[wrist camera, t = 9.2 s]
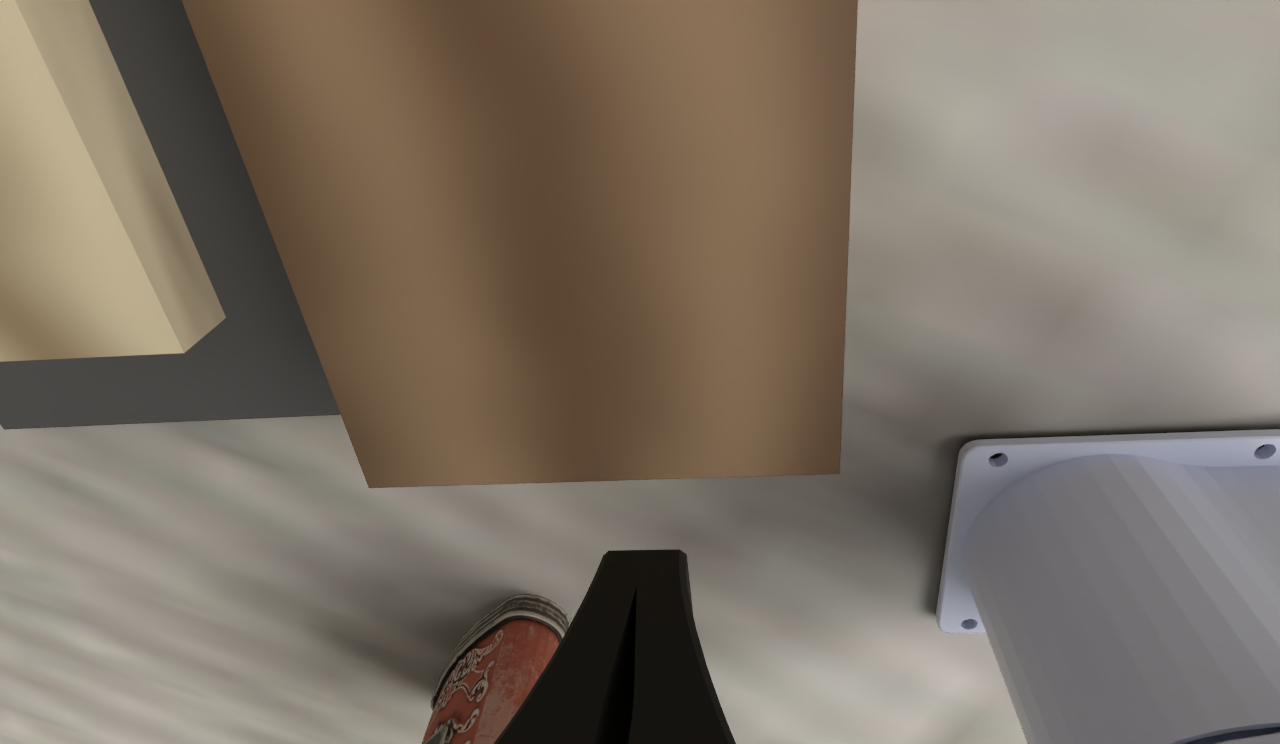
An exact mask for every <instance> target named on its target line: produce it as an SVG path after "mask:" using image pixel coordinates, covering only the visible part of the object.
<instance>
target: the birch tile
mask: <svg viewBox="0 0 1280 744" xmlns="http://www.w3.org/2000/svg"><path fill="white" fill-rule="evenodd" d="M225 318H226V316H225V314H224V311H223V309H222V307H221V305H220V302H219V300H218V298H217V295H216V293H215V291H214V288H213V286H212V284H211V281H210V279H209V277H208V275H207V272H206V270H205V268H204V265H203V263H202V261H201V258H200V256H199V254H198V251H197V249H196V247H195V245H194V242H193V240H192V238H191V235H190V233H189V231H188V228H187V226H186V224H185V221H184V219H183V217H182V215H181V212H180V210H179V208H178V205H177V203H176V201H175V198H174V196H173V194H172V191H171V189H170V187H169V185H168V182H167V180H166V178H165V175H164V173H163V171H162V168H161V166H160V164H159V162H158V159H157V157H156V155H155V152H154V150H153V148H152V145H151V143H150V141H149V138H148V136H147V134H146V132H145V129H144V127H143V125H142V122H141V120H140V118H139V115H138V113H137V111H136V108H135V106H134V104H133V102H132V99H131V97H130V95H129V92H128V90H127V88H126V85H125V83H124V81H123V78H122V76H121V74H120V72H119V69H118V67H117V65H116V62H115V60H114V58H113V55H112V53H111V51H110V48H109V46H108V44H107V42H106V39H105V37H104V35H103V32H102V30H101V28H100V25H99V23H98V21H97V19H96V16H95V14H94V12H93V9H92V7H91V5H90V2H89V0H0V362H3V361H25V360H47V359H68V358H90V357H112V356H133V355H155V354H176V353H185V352H186V351H187V350H188V349H190V348H191V347H192V346H193V345H194V344H196V343H197V342H198V341H199V340H200V339H202V338H203V337H204V336H205V335H206V334H207V333H209V332H210V331H211V330H212V329H213V328H215V327H216V326H217V325H218V324H219V323H220V322H222V321H223V320H224V319H225Z"/></svg>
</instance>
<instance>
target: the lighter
mask: <svg viewBox="0 0 1280 744" xmlns="http://www.w3.org/2000/svg"><path fill="white" fill-rule="evenodd" d="M568 627H569V620H568V617H567V614H566V613H565V612H564V611H563V610H562V609H561V608H560V607H559V606H558V605H556V604H555V603H553V602H552V601H550V600H547V599H544V598H542V597H539V596H533V595H517V596H514V597H511V598H509V599H507V600H506V601H504V602H503V603H502V604H500V605H499V606H498V607H496V608H495V609H494V610H492V611H491V612H489V613H488V614H487V615H485V616H484V617H483V618H482V619H481V620H480V621H479V622H478V623H477V624H476V625H475V626H474V627H473V628H472V629H471V630H470V631H469V632H468V633H467V634H466V635H465V636H464V637H463V638H462V639H461V640H460V642H459V643H458V645H457V646H456V648H455V649H454V651H453V652H452V654H451V655H450V657H449V658H448V660H447V662H446V664H445V666H444V669H443V671H442V674H441V676H440V678H439V681H438V683H437V686H436V689H435V692H434V695H433V697H432V700H431V708H432V710H433V713H432V716H431V718H430V721H429V724H428V727H427V730H426V733H425V736H424V739H423V741H422V744H494V742H495V741H496V740H497V738H498V737H499V736H500V734H501V733H502V732H503V730H504V729H505V728H506V726H507V725H508V723H509V722H510V721H511V719H512V718H513V716H514V715H515V713H516V712H517V711H518V709H519V708H520V706H521V705H522V703H523V702H524V700H525V699H526V697H527V696H528V694H529V693H530V691H531V689H532V688H533V686H534V685H535V683H536V682H537V680H538V678H539V677H540V675H541V674H542V672H543V671H544V669H545V667H546V666H547V664H548V663H549V661H550V659H551V658H552V656H553V654H554V653H555V651H556V649H557V647H558V646H559V644H560V642H561V640H562V639H563V637H564V635H565V633H566V631H567V630H568Z"/></svg>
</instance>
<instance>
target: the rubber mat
mask: <svg viewBox="0 0 1280 744" xmlns="http://www.w3.org/2000/svg"><path fill="white" fill-rule="evenodd" d="M89 2H90V5H91V7H92V9H93V12H94V14H95V16H96V19H97V21H98V23H99V25H100V28H101V30H102V32H103V35H104V37H105V39H106V42H107V44H108V46H109V48H110V51H111V53H112V55H113V58H114V60H115V62H116V65H117V67H118V69H119V72H120V74H121V76H122V78H123V81H124V83H125V85H126V88H127V90H128V92H129V95H130V97H131V99H132V102H133V104H134V106H135V108H136V111H137V113H138V115H139V118H140V120H141V122H142V125H143V127H144V129H145V132H146V134H147V136H148V138H149V141H150V143H151V145H152V148H153V150H154V152H155V155H156V157H157V159H158V162H159V164H160V166H161V168H162V171H163V173H164V175H165V178H166V180H167V182H168V185H169V187H170V189H171V191H172V194H173V196H174V198H175V201H176V203H177V205H178V208H179V210H180V212H181V215H182V217H183V219H184V221H185V224H186V226H187V228H188V231H189V233H190V235H191V238H192V240H193V242H194V245H195V247H196V249H197V251H198V254H199V256H200V258H201V261H202V263H203V265H204V268H205V270H206V272H207V275H208V277H209V279H210V281H211V284H212V286H213V288H214V291H215V293H216V295H217V298H218V300H219V302H220V305H221V307H222V309H223V311H224V314H225V316H226V318H225V319H224V320H223V321H222V322H220V323H219V324H218V325H217V326H216V327H215V328H213V329H212V330H211V331H210V332H209V333H207V334H206V335H205V336H204V337H203V338H202V339H200V340H199V341H198V342H197V343H196V344H194V345H193V346H192V347H191V348H190V349H188V350H187V351H186V352H185V353H176V354H155V355H133V356H112V357H90V358H68V359H47V360H25V361H3V362H0V424H1V426H2V427H3V429H23V428H46V427H69V426H92V425H115V424H138V423H161V422H184V421H207V420H230V419H253V418H276V417H299V416H322V415H341V414H340V411H339V408H338V406H337V403H336V401H335V398H334V395H333V393H332V390H331V388H330V385H329V382H328V380H327V377H326V375H325V372H324V369H323V367H322V364H321V362H320V359H319V356H318V354H317V351H316V349H315V346H314V343H313V341H312V338H311V336H310V333H309V330H308V328H307V325H306V323H305V320H304V317H303V315H302V312H301V310H300V307H299V304H298V302H297V299H296V297H295V294H294V291H293V289H292V286H291V284H290V281H289V278H288V276H287V273H286V271H285V268H284V265H283V263H282V260H281V258H280V255H279V252H278V250H277V247H276V245H275V242H274V239H273V237H272V234H271V232H270V229H269V226H268V224H267V221H266V219H265V216H264V213H263V211H262V208H261V206H260V203H259V200H258V198H257V195H256V192H255V190H254V187H253V185H252V182H251V179H250V177H249V174H248V172H247V169H246V166H245V164H244V161H243V159H242V156H241V153H240V151H239V148H238V146H237V143H236V140H235V138H234V135H233V133H232V130H231V127H230V125H229V122H228V120H227V117H226V114H225V112H224V109H223V107H222V104H221V101H220V99H219V96H218V94H217V91H216V88H215V86H214V83H213V81H212V78H211V75H210V73H209V70H208V68H207V65H206V62H205V60H204V57H203V55H202V52H201V49H200V47H199V44H198V42H197V39H196V36H195V34H194V31H193V29H192V26H191V23H190V21H189V18H188V16H187V13H186V10H185V8H184V5H183V3H182V0H89Z"/></svg>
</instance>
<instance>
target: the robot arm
mask: <svg viewBox="0 0 1280 744" xmlns="http://www.w3.org/2000/svg"><path fill="white" fill-rule="evenodd" d="M1262 445H1265V446H1264V447H1262V448H1261V449H1259V450H1256V449H1257V448H1259V447H1260V446H1262ZM997 453H1002V455H1001V456H1000V457H998V458H995V459H990V457H991V456H992V455H994V454H997ZM966 619H968V620H966ZM936 620H937V624H938V627H939V628H940V629H941V630H942V631H944V632H947V633H987V636H988V639H989V641H990V644H991V647H992V649H993V652H994V655H995V657H996V660H997V663H998V665H999V668H1000V671H1001V673H1002V676H1003V679H1004V681H1005V684H1006V687H1007V689H1008V692H1009V695H1010V697H1011V700H1012V703H1013V705H1014V708H1015V711H1016V713H1017V716H1018V719H1019V721H1020V724H1021V727H1022V729H1023V732H1024V735H1025V738H1026V740H1027V743H1028V744H1280V429H1268V430H1240V431H1211V432H1182V433H1154V434H1125V435H1097V436H1068V437H1039V438H1011V439H982V440H974V441H970V442H968V443H966V444H965V445H964V446H963V447H962V448H961V449H960V452H959V455H958V462H957V469H956V476H955V483H954V490H953V497H952V504H951V511H950V519H949V526H948V533H947V540H946V547H945V554H944V561H943V568H942V575H941V582H940V589H939V596H938V604H937V611H936ZM494 744H736V743H735V741H734V738H733V736H732V733H731V731H730V728H729V726H728V724H727V721H726V718H725V716H724V713H723V711H722V708H721V705H720V703H719V700H718V697H717V694H716V691H715V689H714V686H713V683H712V680H711V677H710V674H709V671H708V668H707V665H706V662H705V658H704V655H703V651H702V648H701V644H700V641H699V638H698V634H697V631H696V626H695V622H694V618H693V611H692V601H691V592H690V582H689V573H688V563H687V555H686V554H685V553H684V552H682V551H681V550H627V551H608V552H607V553H606V554H605V555H604V556H603V558H602V560H601V563H600V565H599V567H598V570H597V572H596V574H595V576H594V579H593V581H592V583H591V585H590V587H589V589H588V591H587V594H586V596H585V598H584V600H583V602H582V603H581V605H580V607H579V609H578V611H577V613H576V615H575V617H574V619H573V621H572V622H571V624H570V626H569V628H568V630H567V631H566V633H565V635H564V637H563V639H562V640H561V642H560V644H559V646H558V647H557V649H556V651H555V653H554V654H553V656H552V658H551V659H550V661H549V663H548V664H547V666H546V667H545V669H544V671H543V672H542V674H541V675H540V677H539V678H538V680H537V682H536V683H535V685H534V686H533V688H532V689H531V691H530V693H529V694H528V696H527V697H526V699H525V700H524V702H523V703H522V705H521V706H520V708H519V709H518V711H517V712H516V713H515V715H514V716H513V718H512V719H511V721H510V722H509V723H508V725H507V726H506V728H505V729H504V730H503V732H502V733H501V734H500V736H499V737H498V738H497V740H496V741H495V742H494Z"/></svg>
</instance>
